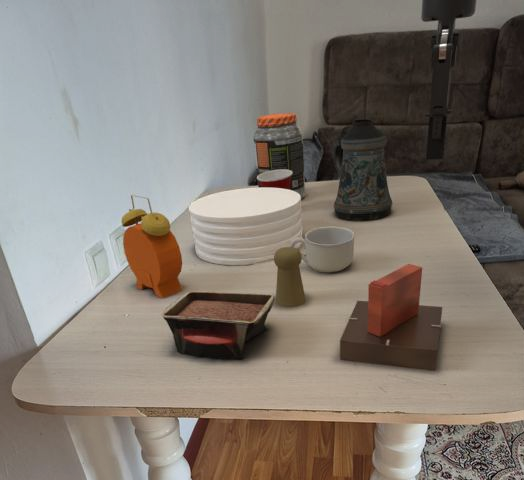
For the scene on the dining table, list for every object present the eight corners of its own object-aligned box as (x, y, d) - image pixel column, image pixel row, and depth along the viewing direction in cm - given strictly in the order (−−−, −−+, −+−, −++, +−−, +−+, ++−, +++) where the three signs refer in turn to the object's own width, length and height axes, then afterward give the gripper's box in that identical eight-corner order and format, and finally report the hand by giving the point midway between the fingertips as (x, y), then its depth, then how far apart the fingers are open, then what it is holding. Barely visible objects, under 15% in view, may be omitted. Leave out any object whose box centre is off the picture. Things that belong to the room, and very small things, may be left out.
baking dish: (206, 326, 93) (189, 280, 88) (291, 324, 86) (277, 273, 80) (168, 371, 83) (146, 322, 78) (261, 373, 75) (243, 318, 70)
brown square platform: (440, 327, 82) (443, 305, 79) (435, 374, 70) (438, 349, 68) (356, 320, 86) (356, 299, 84) (339, 362, 75) (339, 339, 73)
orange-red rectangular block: (405, 309, 80) (408, 262, 75) (418, 313, 78) (422, 265, 74) (367, 331, 74) (368, 282, 70) (380, 337, 73) (382, 286, 68)
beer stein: (379, 225, 131) (383, 124, 118) (315, 220, 140) (312, 126, 127) (399, 209, 143) (405, 115, 130) (338, 204, 152) (338, 117, 139)
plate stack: (175, 260, 121) (166, 214, 116) (228, 226, 143) (223, 186, 137) (276, 269, 110) (272, 220, 104) (318, 231, 131) (316, 188, 125)
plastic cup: (252, 215, 150) (248, 175, 144) (277, 206, 156) (274, 168, 150) (277, 220, 143) (274, 178, 137) (302, 211, 149) (300, 171, 143)
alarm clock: (189, 290, 104) (172, 196, 94) (165, 300, 101) (145, 204, 91) (154, 277, 113) (135, 189, 103) (131, 286, 109) (110, 196, 99)
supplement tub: (308, 192, 169) (305, 110, 156) (301, 204, 156) (297, 116, 143) (264, 193, 173) (258, 114, 160) (254, 205, 160) (246, 120, 147)
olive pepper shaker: (278, 296, 98) (274, 243, 92) (307, 296, 97) (305, 243, 91) (272, 309, 93) (268, 255, 87) (303, 309, 92) (301, 254, 86)
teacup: (355, 259, 111) (356, 225, 107) (352, 278, 102) (353, 242, 98) (296, 259, 114) (294, 226, 110) (288, 278, 106) (285, 242, 101)
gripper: (426, -7, 76) (415, 152, 88) (419, -14, 66) (407, 167, 78) (477, -14, 74) (458, 150, 86) (478, -22, 63) (457, 166, 76)
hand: (434, 158), depth 82 cm, fingers closed
